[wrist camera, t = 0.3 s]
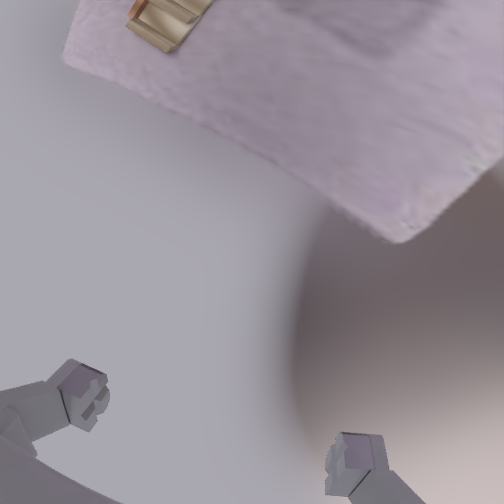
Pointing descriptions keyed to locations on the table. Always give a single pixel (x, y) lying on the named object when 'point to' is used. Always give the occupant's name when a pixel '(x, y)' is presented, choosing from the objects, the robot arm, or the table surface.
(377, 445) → the robot arm
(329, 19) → the table surface
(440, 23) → the table surface
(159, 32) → the rack
